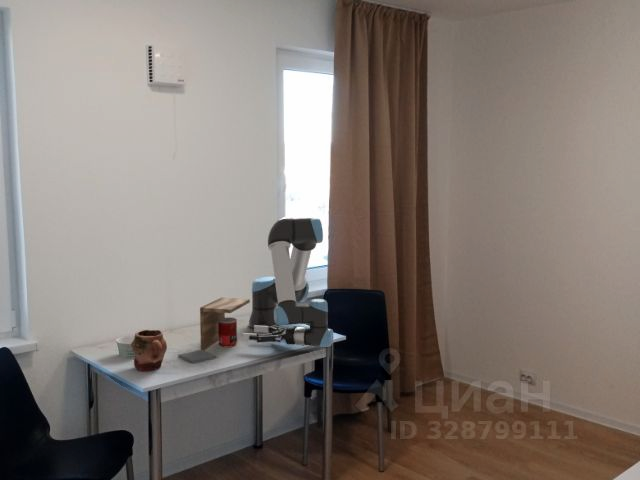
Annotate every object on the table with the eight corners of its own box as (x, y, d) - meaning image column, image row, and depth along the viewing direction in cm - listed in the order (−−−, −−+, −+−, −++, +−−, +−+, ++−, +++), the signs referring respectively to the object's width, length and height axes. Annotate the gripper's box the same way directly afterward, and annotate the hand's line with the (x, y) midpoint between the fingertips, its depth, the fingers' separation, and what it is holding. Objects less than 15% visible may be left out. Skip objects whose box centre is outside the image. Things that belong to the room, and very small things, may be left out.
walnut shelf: (200, 350, 267) (200, 307, 265) (221, 336, 289) (221, 297, 287) (230, 352, 264) (230, 309, 262) (250, 338, 285) (249, 299, 283)
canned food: (233, 347, 272) (233, 322, 270) (215, 346, 273) (215, 321, 272) (239, 342, 279) (239, 317, 278) (222, 341, 281) (221, 317, 279)
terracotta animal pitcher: (179, 371, 240) (178, 334, 238) (149, 378, 231) (148, 340, 229) (150, 359, 254) (150, 325, 252) (122, 366, 245) (121, 330, 243)
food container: (122, 361, 252) (121, 344, 251) (112, 354, 262) (111, 338, 261) (151, 355, 259) (150, 340, 258) (140, 349, 269) (140, 334, 268)
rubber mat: (201, 351, 265) (201, 349, 264) (216, 357, 256) (216, 355, 256) (178, 357, 257) (178, 354, 257) (192, 363, 249) (192, 360, 249)
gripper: (287, 352, 256) (237, 348, 261) (304, 336, 280) (258, 333, 285) (287, 334, 255) (237, 330, 261) (304, 320, 279) (258, 317, 285)
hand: (248, 332), depth 273 cm, fingers open, 13 cm apart
